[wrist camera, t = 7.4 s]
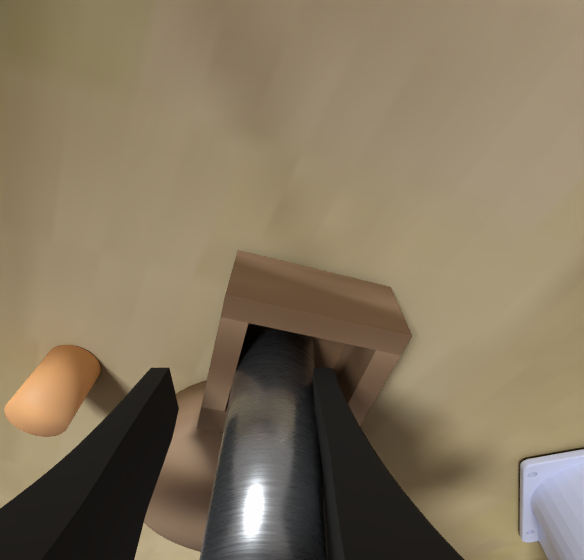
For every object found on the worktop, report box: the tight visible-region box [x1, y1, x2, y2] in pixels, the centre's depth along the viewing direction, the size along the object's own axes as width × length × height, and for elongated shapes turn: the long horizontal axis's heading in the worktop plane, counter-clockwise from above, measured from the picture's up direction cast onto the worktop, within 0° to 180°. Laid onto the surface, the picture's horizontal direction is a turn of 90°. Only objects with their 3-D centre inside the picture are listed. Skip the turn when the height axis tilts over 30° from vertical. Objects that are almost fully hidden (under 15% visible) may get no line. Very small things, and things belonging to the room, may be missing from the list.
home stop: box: [5, 345, 101, 437], centre depth 16 cm, size 2×2×3 cm
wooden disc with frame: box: [144, 250, 412, 552], centre depth 17 cm, size 17×11×4 cm, turn 165°
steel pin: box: [200, 324, 327, 560], centre depth 12 cm, size 3×3×8 cm
